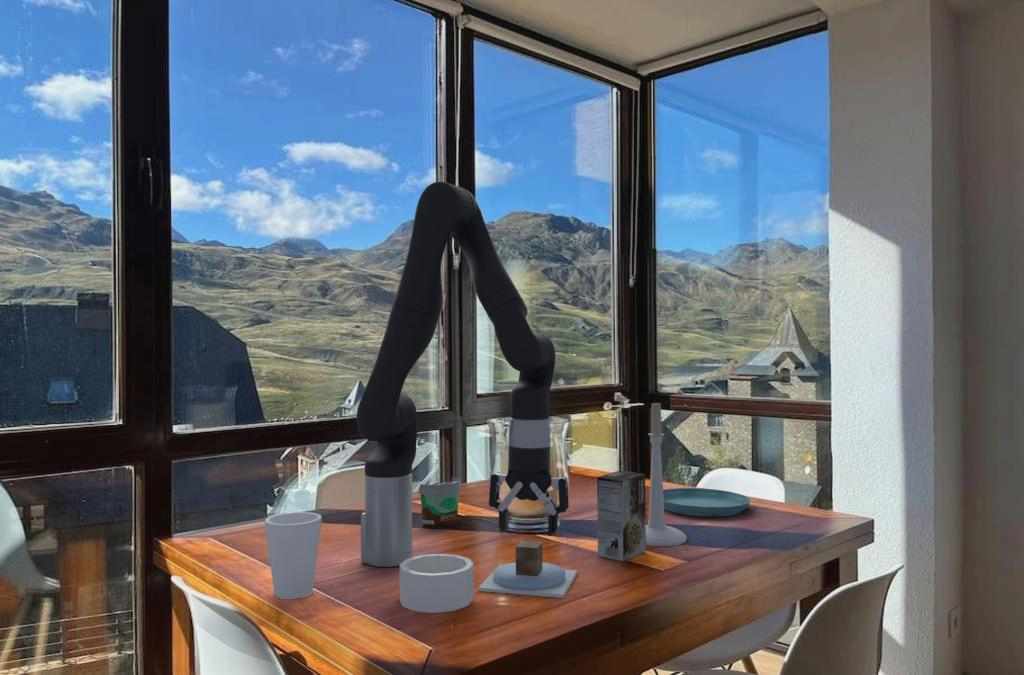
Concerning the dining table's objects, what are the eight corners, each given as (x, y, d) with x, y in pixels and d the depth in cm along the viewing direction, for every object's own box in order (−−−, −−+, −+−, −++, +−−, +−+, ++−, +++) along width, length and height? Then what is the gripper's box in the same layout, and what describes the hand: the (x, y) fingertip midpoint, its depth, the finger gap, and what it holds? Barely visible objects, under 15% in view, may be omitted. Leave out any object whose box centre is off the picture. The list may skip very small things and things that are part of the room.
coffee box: (619, 546, 163) (619, 469, 163) (646, 552, 159) (646, 473, 159) (596, 556, 156) (595, 476, 156) (623, 562, 152) (623, 479, 152)
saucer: (749, 523, 184) (749, 509, 184) (647, 516, 191) (647, 502, 191) (751, 502, 207) (751, 490, 207) (659, 497, 214) (659, 485, 214)
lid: (484, 587, 135) (484, 551, 135) (504, 565, 147) (503, 533, 147) (557, 593, 131) (557, 556, 131) (571, 570, 144) (571, 537, 144)
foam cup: (327, 584, 138) (326, 511, 138) (315, 602, 129) (315, 524, 129) (273, 585, 138) (273, 512, 138) (258, 603, 129) (257, 525, 129)
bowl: (388, 608, 126) (388, 572, 126) (416, 585, 137) (416, 552, 137) (459, 615, 123) (458, 577, 123) (481, 591, 134) (481, 556, 134)
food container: (438, 531, 176) (437, 487, 176) (418, 527, 179) (418, 484, 179) (473, 521, 186) (472, 479, 186) (453, 517, 189) (453, 476, 189)
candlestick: (630, 546, 163) (630, 403, 163) (623, 531, 176) (623, 399, 176) (692, 546, 163) (691, 403, 163) (680, 531, 175) (680, 398, 175)
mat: (478, 591, 134) (478, 587, 134) (499, 567, 148) (499, 564, 148) (563, 598, 131) (563, 594, 131) (577, 573, 144) (577, 570, 144)
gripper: (485, 444, 138) (484, 535, 138) (564, 448, 134) (563, 541, 134) (496, 438, 145) (495, 525, 145) (572, 442, 141) (570, 530, 141)
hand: (528, 532), depth 140 cm, fingers open, 8 cm apart
